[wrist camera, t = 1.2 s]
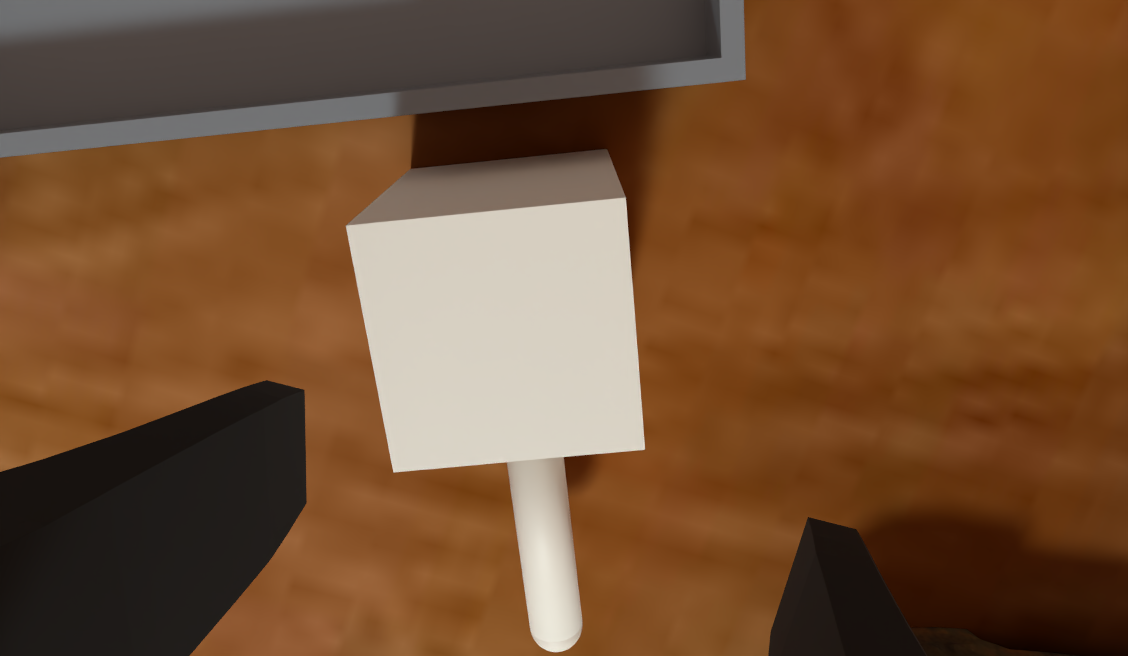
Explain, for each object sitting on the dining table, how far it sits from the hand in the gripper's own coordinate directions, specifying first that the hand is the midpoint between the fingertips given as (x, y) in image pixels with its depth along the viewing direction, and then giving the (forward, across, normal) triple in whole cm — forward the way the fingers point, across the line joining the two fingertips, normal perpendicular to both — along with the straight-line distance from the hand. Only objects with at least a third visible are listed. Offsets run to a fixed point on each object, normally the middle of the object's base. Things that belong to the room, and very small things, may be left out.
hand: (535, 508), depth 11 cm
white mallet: (+10, +2, +4) cm, 12 cm away
